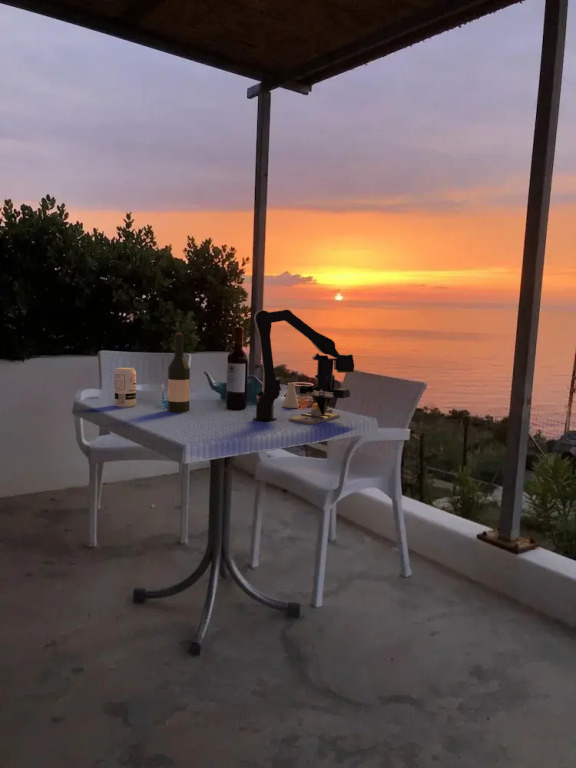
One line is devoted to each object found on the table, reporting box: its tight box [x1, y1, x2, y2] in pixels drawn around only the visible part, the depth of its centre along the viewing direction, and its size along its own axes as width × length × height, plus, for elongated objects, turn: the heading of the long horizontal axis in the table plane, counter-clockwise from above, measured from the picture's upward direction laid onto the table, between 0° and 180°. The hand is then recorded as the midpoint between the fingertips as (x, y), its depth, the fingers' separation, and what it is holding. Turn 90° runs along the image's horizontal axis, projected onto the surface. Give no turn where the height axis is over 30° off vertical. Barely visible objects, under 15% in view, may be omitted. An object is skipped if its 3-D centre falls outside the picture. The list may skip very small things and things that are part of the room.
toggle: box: [310, 402, 321, 416], centre depth 221 cm, size 3×3×4 cm
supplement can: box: [113, 366, 137, 408], centre depth 235 cm, size 8×8×15 cm
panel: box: [288, 411, 340, 425], centre depth 221 cm, size 20×10×2 cm, turn 147°
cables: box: [326, 406, 333, 413], centre depth 234 cm, size 9×4×2 cm, turn 147°
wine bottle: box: [167, 332, 191, 414], centre depth 227 cm, size 8×8×30 cm
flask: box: [281, 382, 300, 409], centre depth 245 cm, size 7×7×10 cm
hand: (323, 414), depth 219 cm, fingers closed
